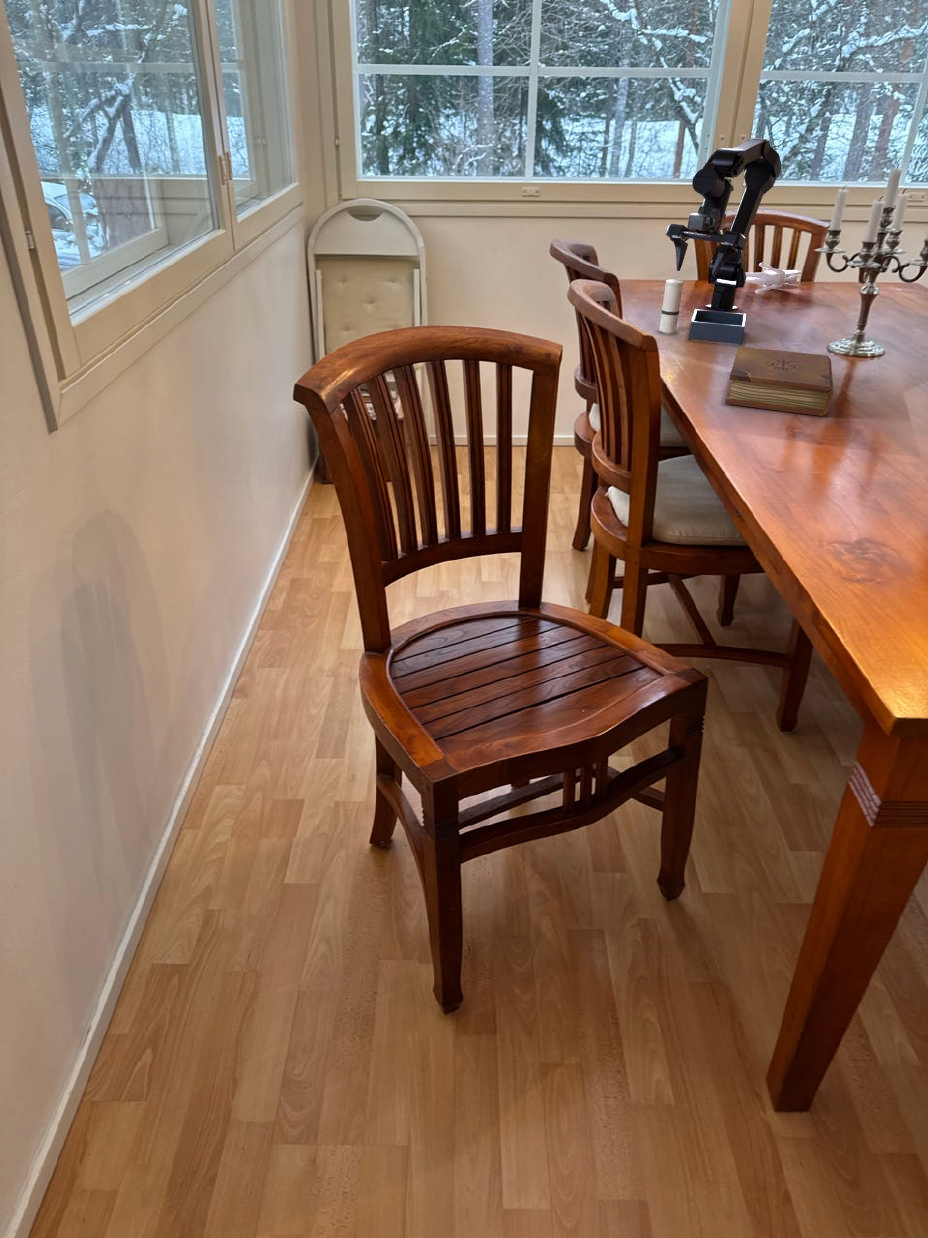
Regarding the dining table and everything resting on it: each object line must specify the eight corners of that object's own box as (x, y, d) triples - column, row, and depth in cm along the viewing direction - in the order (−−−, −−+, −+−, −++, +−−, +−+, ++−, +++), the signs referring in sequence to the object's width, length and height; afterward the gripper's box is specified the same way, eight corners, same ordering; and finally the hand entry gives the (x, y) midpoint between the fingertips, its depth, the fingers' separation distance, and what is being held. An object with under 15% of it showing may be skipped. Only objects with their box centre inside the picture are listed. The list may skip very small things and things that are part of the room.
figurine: (728, 261, 252) (801, 262, 246) (732, 262, 263) (803, 264, 256) (724, 292, 256) (796, 295, 249) (728, 293, 266) (798, 295, 259)
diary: (826, 417, 164) (834, 387, 160) (724, 404, 168) (730, 374, 165) (825, 382, 182) (832, 354, 179) (733, 372, 187) (738, 344, 184)
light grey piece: (669, 329, 216) (677, 278, 209) (679, 334, 213) (687, 282, 206) (655, 331, 214) (662, 279, 208) (664, 335, 211) (672, 283, 205)
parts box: (691, 328, 218) (695, 309, 215) (742, 333, 215) (746, 313, 213) (687, 341, 207) (691, 321, 205) (740, 346, 204) (744, 326, 202)
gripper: (667, 192, 209) (648, 260, 213) (741, 200, 200) (720, 271, 204) (683, 205, 218) (665, 270, 222) (755, 213, 209) (735, 281, 213)
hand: (695, 273), depth 215 cm, fingers open, 9 cm apart
